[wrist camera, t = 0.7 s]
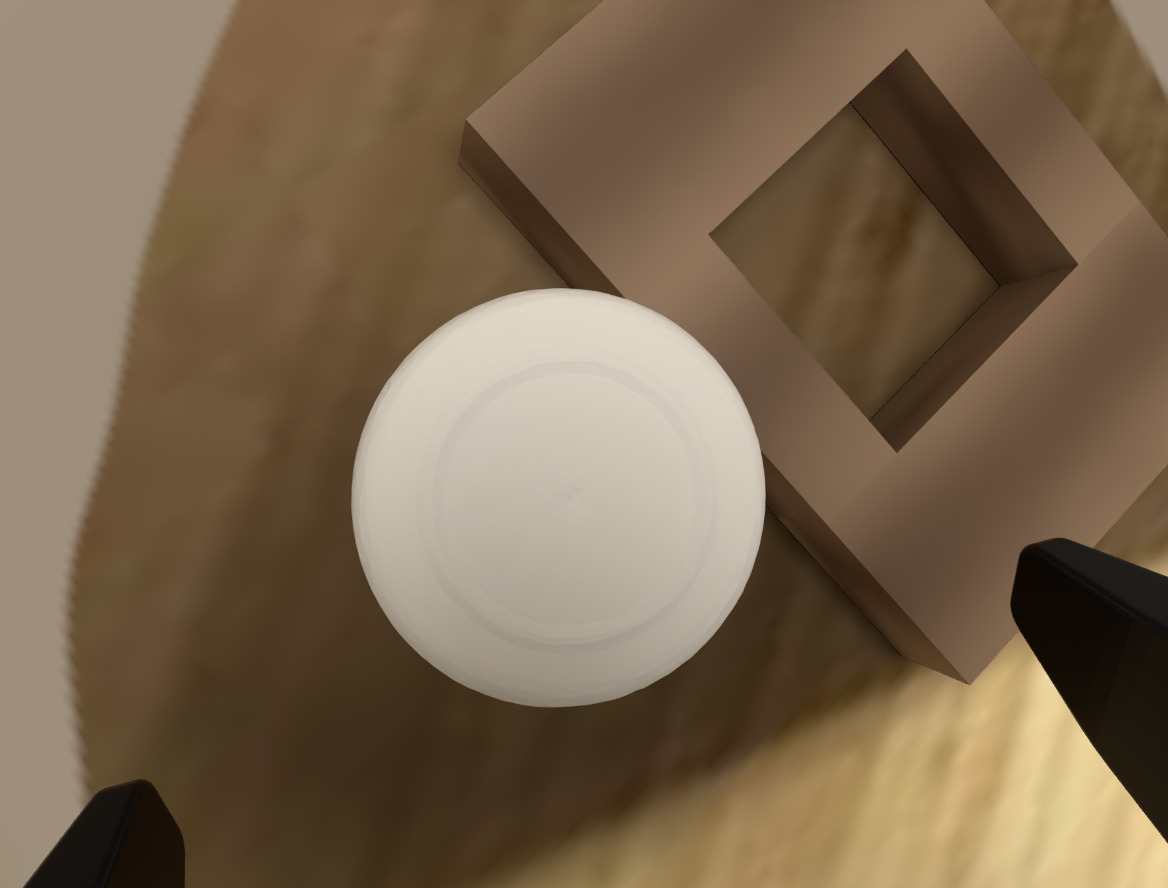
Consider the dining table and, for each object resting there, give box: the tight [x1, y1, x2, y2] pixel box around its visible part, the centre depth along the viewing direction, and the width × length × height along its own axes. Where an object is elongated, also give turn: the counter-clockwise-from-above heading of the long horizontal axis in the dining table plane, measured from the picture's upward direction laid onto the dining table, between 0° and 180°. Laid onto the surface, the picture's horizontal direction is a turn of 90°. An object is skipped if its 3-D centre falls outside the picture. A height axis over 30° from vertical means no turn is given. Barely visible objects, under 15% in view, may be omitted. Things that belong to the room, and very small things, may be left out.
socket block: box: [459, 0, 1168, 685], centre depth 23 cm, size 18×12×3 cm, turn 43°
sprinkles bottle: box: [351, 288, 766, 707], centre depth 16 cm, size 5×5×13 cm
